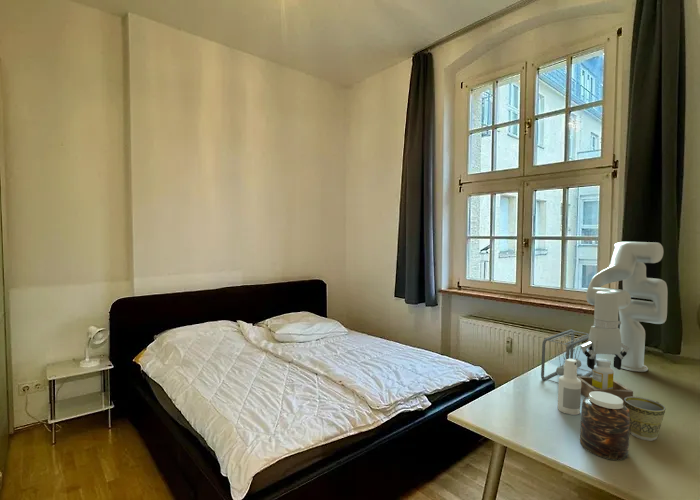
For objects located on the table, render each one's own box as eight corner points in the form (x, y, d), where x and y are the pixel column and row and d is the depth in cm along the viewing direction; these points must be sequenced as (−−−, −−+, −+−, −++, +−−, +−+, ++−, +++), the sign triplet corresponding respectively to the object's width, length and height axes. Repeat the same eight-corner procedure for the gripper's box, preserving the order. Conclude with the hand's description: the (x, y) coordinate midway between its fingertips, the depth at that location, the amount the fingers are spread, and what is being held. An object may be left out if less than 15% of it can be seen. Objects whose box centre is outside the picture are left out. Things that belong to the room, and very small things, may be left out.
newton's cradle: (567, 389, 150) (569, 345, 149) (540, 380, 159) (542, 339, 158) (595, 372, 169) (597, 333, 168) (570, 365, 177) (572, 328, 176)
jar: (635, 451, 108) (638, 399, 107) (618, 465, 101) (621, 410, 100) (589, 433, 117) (592, 385, 117) (572, 445, 111) (574, 394, 110)
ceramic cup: (651, 447, 110) (652, 413, 110) (615, 430, 119) (616, 399, 119) (676, 437, 115) (678, 405, 115) (640, 422, 124) (641, 392, 124)
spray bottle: (572, 417, 127) (574, 364, 126) (553, 408, 133) (555, 358, 133) (584, 412, 131) (586, 361, 130) (565, 404, 137) (567, 355, 136)
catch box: (574, 388, 151) (575, 376, 151) (609, 389, 150) (609, 377, 150) (594, 403, 138) (594, 390, 137) (632, 405, 137) (633, 391, 137)
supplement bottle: (610, 392, 146) (612, 359, 145) (614, 398, 140) (616, 364, 139) (590, 388, 148) (591, 356, 148) (593, 395, 142) (594, 361, 142)
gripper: (622, 321, 146) (620, 364, 147) (576, 321, 147) (575, 364, 148) (636, 326, 138) (634, 372, 140) (587, 326, 139) (586, 371, 141)
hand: (603, 368), depth 144 cm, fingers open, 9 cm apart
